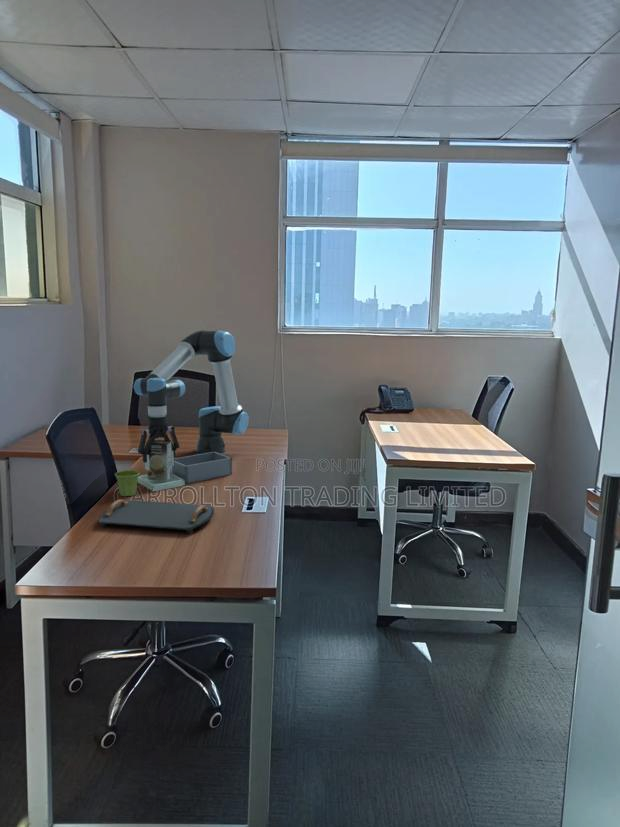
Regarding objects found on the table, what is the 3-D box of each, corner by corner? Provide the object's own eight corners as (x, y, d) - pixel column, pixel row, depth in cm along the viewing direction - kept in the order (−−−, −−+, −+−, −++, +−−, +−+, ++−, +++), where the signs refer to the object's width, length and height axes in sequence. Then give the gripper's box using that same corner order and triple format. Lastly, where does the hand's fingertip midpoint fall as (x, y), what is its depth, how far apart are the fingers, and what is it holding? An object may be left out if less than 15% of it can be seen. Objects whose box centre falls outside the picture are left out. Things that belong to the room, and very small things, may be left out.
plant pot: (127, 489, 233) (126, 468, 231) (145, 492, 228) (144, 471, 227) (110, 495, 224) (109, 474, 223) (128, 499, 220) (127, 477, 219)
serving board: (221, 513, 207) (221, 497, 206) (198, 538, 185) (197, 520, 184) (123, 506, 214) (122, 490, 213) (89, 529, 191) (87, 511, 190)
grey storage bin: (214, 467, 267) (214, 451, 265) (232, 474, 255) (231, 457, 254) (169, 475, 252) (169, 459, 251) (185, 483, 241) (185, 466, 239)
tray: (166, 476, 251) (166, 470, 251) (184, 485, 238) (184, 479, 238) (136, 482, 242) (135, 476, 242) (153, 491, 229) (153, 486, 229)
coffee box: (146, 480, 237) (145, 442, 234) (152, 475, 243) (150, 439, 241) (168, 481, 236) (166, 443, 233) (173, 476, 243) (171, 439, 240)
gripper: (178, 411, 245) (180, 461, 249) (127, 417, 231) (129, 470, 235) (186, 413, 239) (188, 464, 243) (134, 420, 225) (137, 474, 229)
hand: (159, 467), depth 239 cm, fingers closed on coffee box, 10 cm apart
